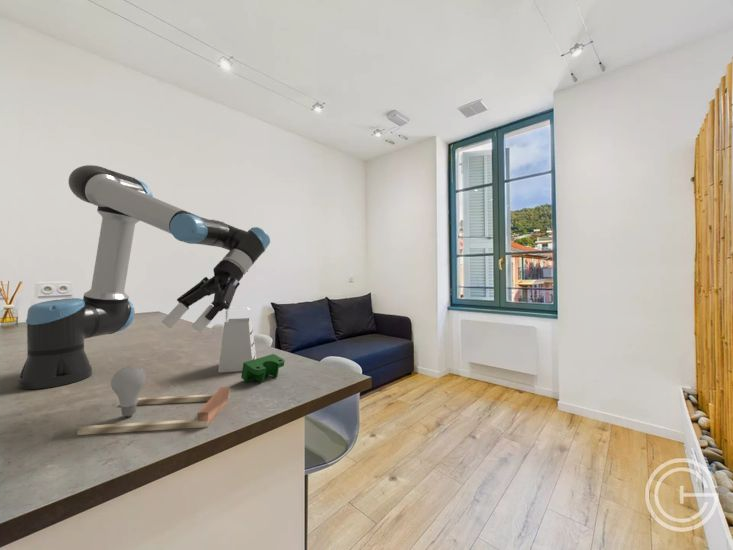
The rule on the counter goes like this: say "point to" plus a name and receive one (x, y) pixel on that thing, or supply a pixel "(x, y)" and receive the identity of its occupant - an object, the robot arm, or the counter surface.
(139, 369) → the lightbulb
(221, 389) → the guide
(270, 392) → the counter surface
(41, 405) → the counter surface
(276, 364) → the clamp
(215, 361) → the counter surface
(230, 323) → the grater
